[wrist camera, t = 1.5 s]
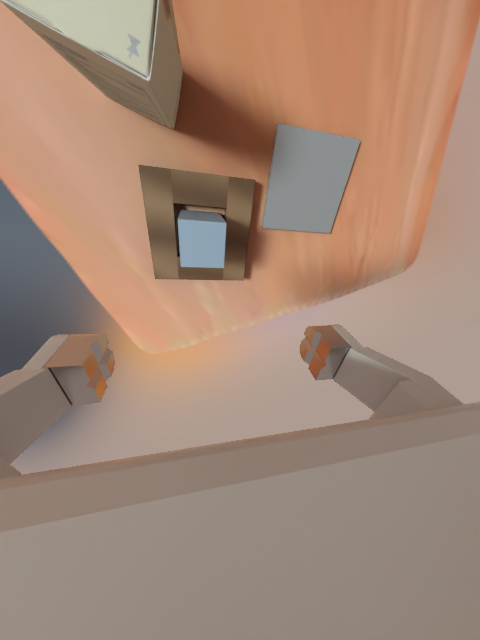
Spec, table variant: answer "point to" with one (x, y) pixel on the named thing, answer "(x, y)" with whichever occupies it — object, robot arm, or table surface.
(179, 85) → the skincare box
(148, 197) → the walnut stand
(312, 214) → the ceramic pad
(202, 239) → the blue block
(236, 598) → the robot arm
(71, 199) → the table surface
